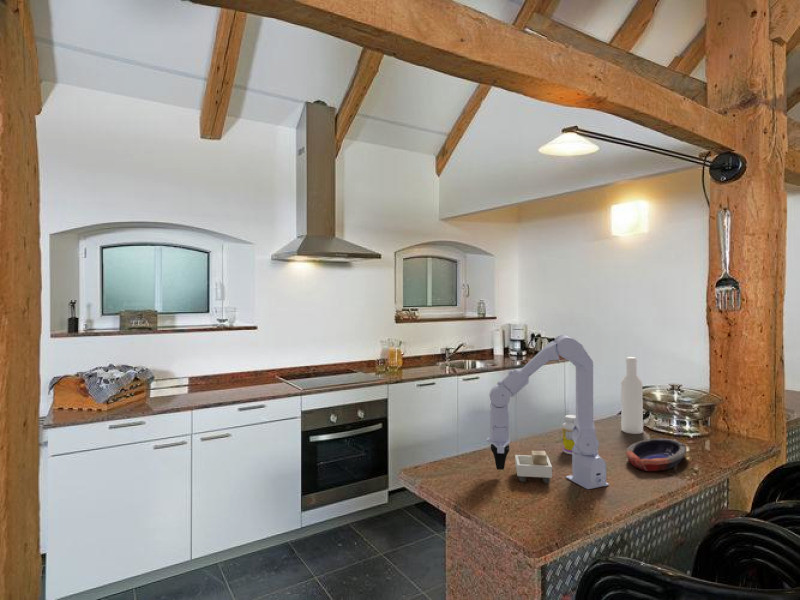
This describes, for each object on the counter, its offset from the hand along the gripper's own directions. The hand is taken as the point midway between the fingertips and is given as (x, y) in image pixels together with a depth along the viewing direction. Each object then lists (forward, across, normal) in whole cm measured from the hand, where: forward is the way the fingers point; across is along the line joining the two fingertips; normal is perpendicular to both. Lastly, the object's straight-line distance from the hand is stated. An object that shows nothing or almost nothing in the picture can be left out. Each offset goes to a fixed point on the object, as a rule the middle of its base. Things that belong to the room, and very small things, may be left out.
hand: (500, 468), depth 146 cm
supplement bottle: (+3, -26, +26) cm, 37 cm away
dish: (+3, -20, +52) cm, 56 cm away
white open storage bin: (+2, 0, +10) cm, 10 cm away
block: (-1, 0, +12) cm, 12 cm away
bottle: (+2, -55, +54) cm, 78 cm away
